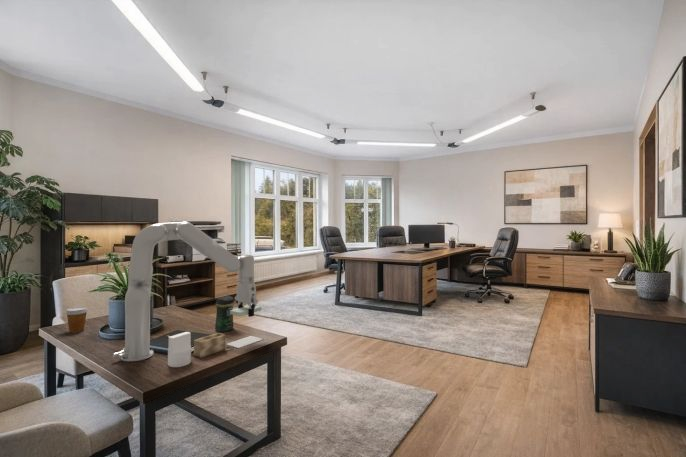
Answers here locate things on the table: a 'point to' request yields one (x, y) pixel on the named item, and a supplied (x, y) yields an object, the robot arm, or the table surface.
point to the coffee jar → (224, 314)
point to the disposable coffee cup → (76, 318)
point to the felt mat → (244, 342)
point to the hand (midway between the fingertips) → (245, 314)
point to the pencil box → (209, 345)
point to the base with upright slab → (179, 350)
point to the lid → (243, 310)
